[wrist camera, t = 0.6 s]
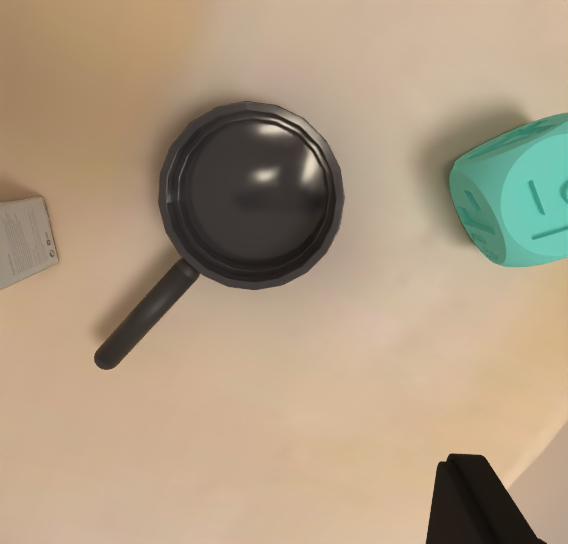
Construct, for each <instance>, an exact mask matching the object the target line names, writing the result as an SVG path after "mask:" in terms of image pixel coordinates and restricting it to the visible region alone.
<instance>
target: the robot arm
mask: <svg viewBox="0 0 568 544" xmlns="http://www.w3.org/2000/svg"><path fill="white" fill-rule="evenodd" d="M426 544H547V543H545V542H544V541H542V540H541V539H538V538H537V537H536V535H535V534H534V532H533V530H532V529H531V528H530V526H529V524H528V523H527V521H526V520H525V518H524V517H523V515H522V513H521V512H520V510H519V509H518V507H517V506H516V504H515V503H514V501H513V500H512V498H511V496H510V495H509V493H508V492H507V490H506V489H505V487H504V486H503V484H502V483H501V481H500V479H499V478H498V476H497V475H496V473H495V472H494V470H493V469H492V467H491V466H490V464H489V462H488V461H487V460H486V458H485V457H484V456H482V455H472V454H450V455H449V456H448V458H447V461H446V462H442V461H441V462H439V463H438V466H437V471H436V478H435V485H434V491H433V498H432V505H431V512H430V519H429V525H428V532H427V539H426Z"/></svg>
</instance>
